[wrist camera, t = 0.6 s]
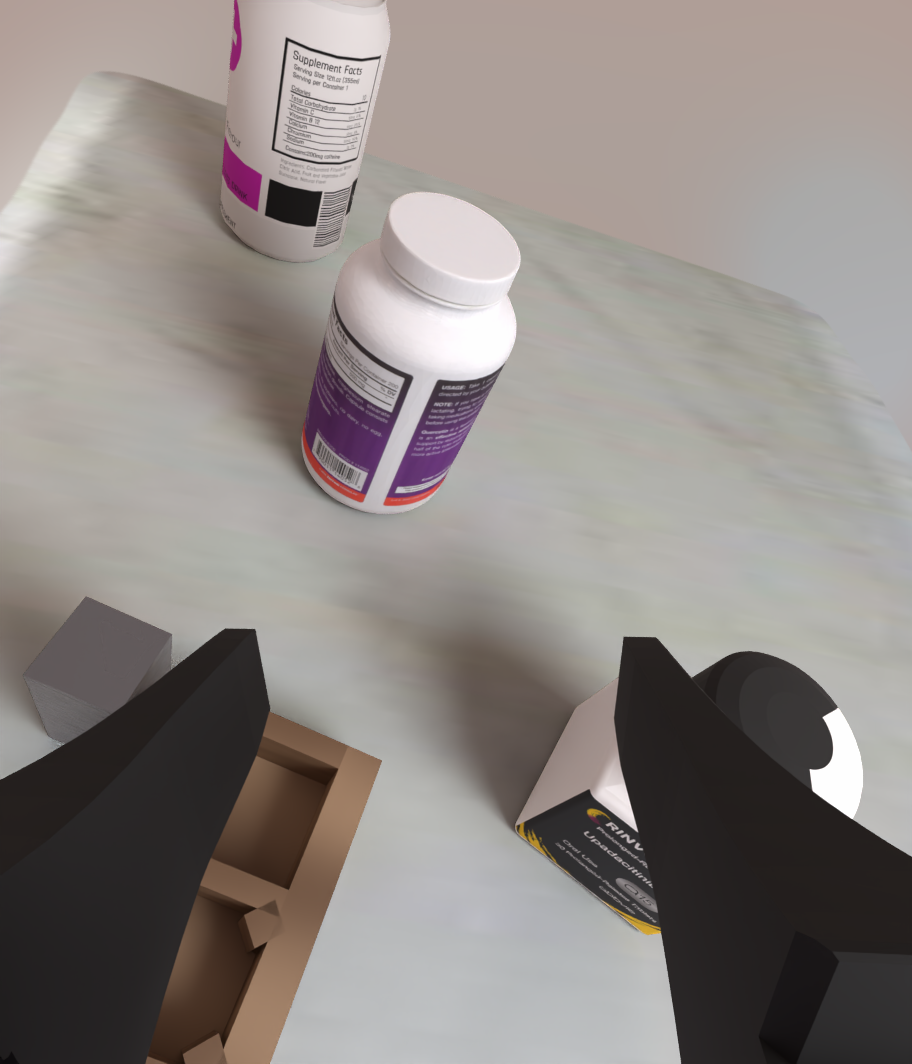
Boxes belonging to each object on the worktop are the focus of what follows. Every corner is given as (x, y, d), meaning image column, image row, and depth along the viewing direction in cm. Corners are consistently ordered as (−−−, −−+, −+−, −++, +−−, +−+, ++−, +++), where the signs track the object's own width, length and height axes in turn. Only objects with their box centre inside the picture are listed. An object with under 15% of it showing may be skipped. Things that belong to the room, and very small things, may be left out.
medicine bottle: (509, 831, 28) (675, 748, 19) (574, 705, 33) (733, 589, 24) (645, 939, 28) (884, 907, 19) (693, 796, 32) (903, 714, 23)
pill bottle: (437, 425, 41) (540, 209, 29) (441, 534, 36) (564, 326, 25) (303, 396, 38) (360, 147, 27) (289, 509, 34) (351, 265, 23)
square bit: (125, 768, 25) (117, 715, 20) (48, 736, 24) (22, 675, 20) (170, 698, 27) (171, 634, 22) (99, 667, 26) (86, 596, 22)
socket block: (232, 1123, 20) (242, 1138, 18) (14, 1042, 20) (-6, 1047, 18) (363, 781, 27) (382, 760, 25) (205, 712, 27) (209, 685, 24)
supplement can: (196, 228, 43) (208, -56, 31) (254, 178, 48) (283, -81, 37) (312, 285, 44) (365, 29, 32) (357, 230, 49) (416, -8, 38)
